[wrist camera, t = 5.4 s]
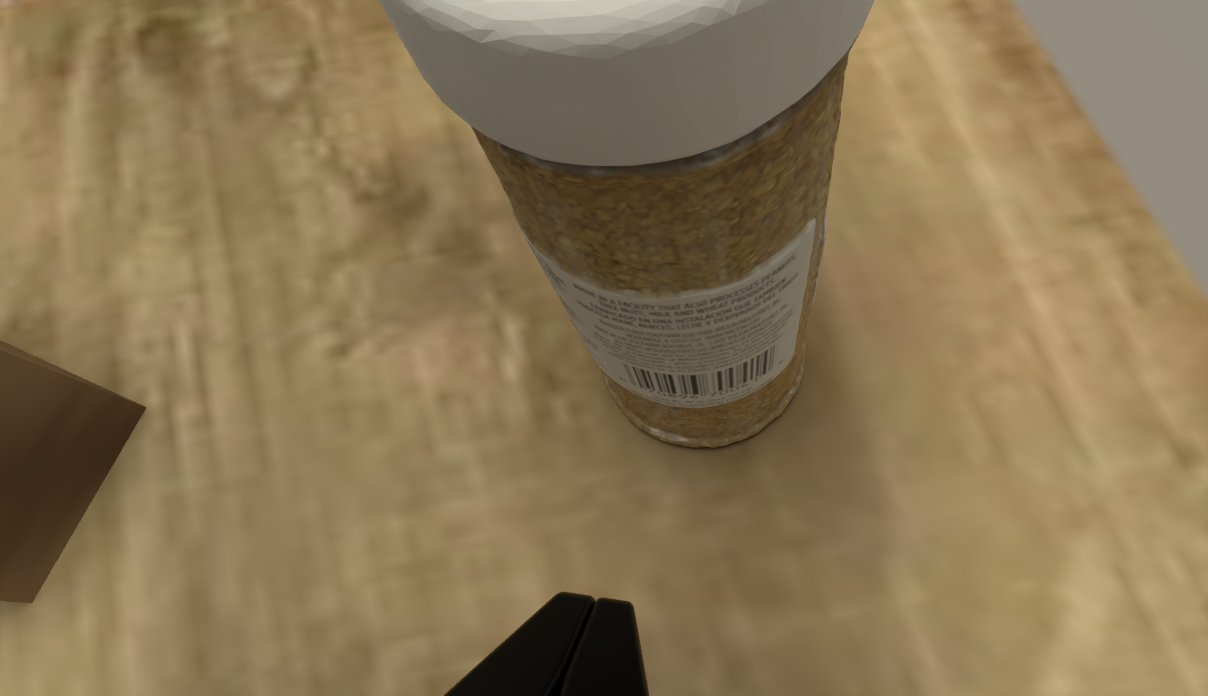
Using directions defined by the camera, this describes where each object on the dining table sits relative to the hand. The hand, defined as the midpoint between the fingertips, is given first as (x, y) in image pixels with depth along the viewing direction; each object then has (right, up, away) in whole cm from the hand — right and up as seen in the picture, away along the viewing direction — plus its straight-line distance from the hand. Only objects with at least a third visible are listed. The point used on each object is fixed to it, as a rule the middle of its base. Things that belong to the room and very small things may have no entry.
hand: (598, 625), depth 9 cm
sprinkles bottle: (+2, +3, +10) cm, 10 cm away
